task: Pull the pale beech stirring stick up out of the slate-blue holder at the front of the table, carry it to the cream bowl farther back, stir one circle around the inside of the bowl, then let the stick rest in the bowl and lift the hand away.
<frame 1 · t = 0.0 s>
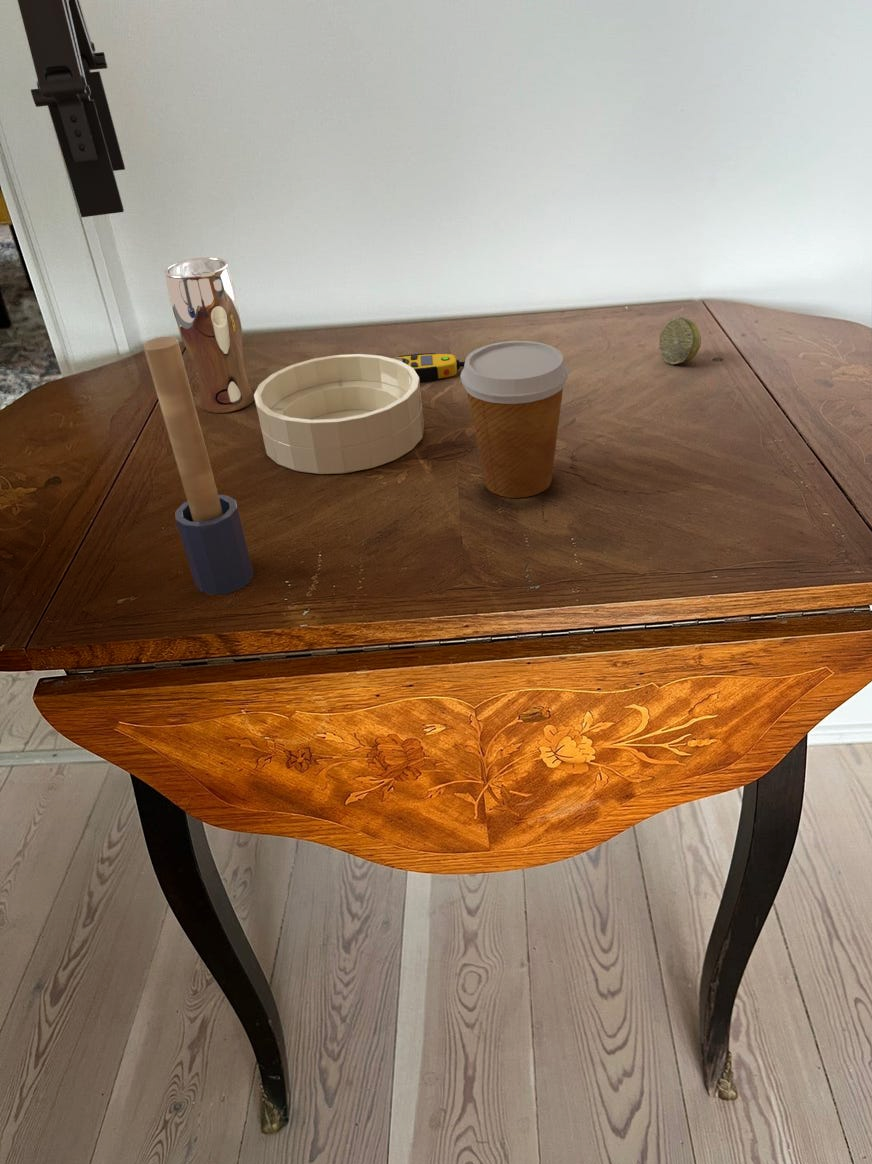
hand: (105, 191, 68), 29 cm above the table, tool pointing down, fingers open, 13 cm apart
disposable coffee cup: (518, 483, 90), on the table
holder: (225, 582, 79), on the table
stick: (224, 577, 79), resting on holder
beer glass: (228, 403, 108), on the table
lime: (678, 362, 110), on the table
yellow handheld meter: (444, 373, 111), on the table
bowl: (345, 440, 99), on the table
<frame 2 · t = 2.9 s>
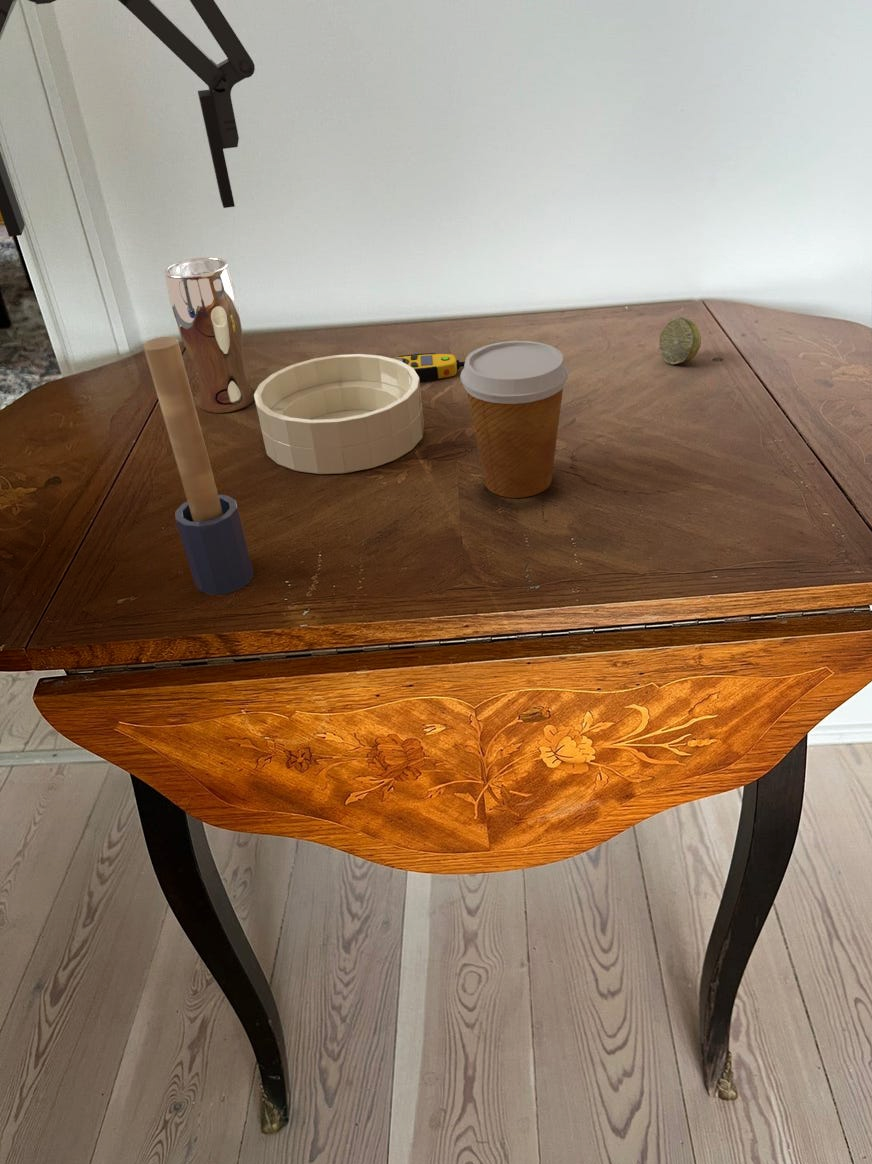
hand: (124, 217, 63), 28 cm above the table, tool pointing down, fingers open, 13 cm apart
nothing on the table moved.
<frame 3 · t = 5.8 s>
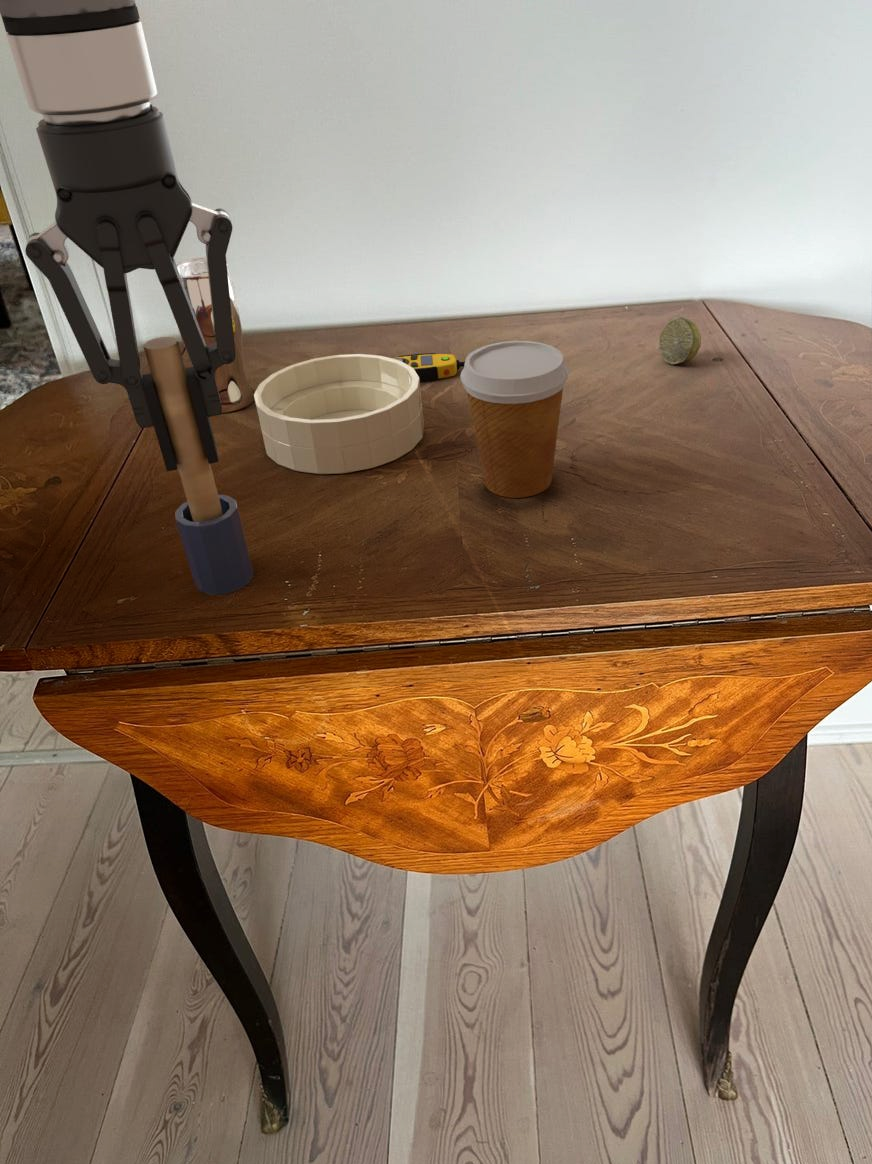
hand: (192, 458, 72), 12 cm above the table, tool pointing down, fingers closed on stick, 2 cm apart
stick: (224, 577, 79), point 1 cm above the table, touching gripper, holder
everything else where it was.
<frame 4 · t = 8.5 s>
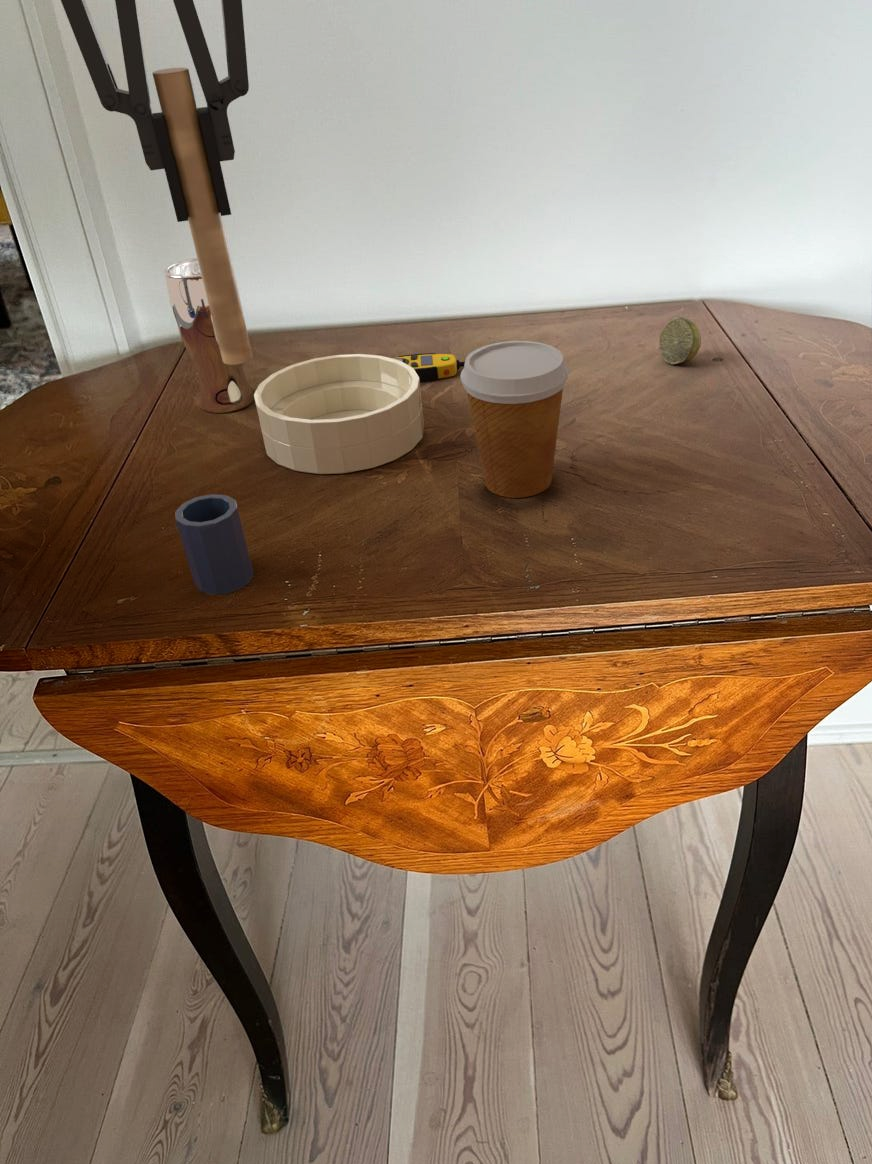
hand: (203, 213, 69), 27 cm above the table, tool pointing down, fingers closed on stick, 2 cm apart
stick: (237, 359, 76), point 16 cm above the table, touching gripper
everything else where it was.
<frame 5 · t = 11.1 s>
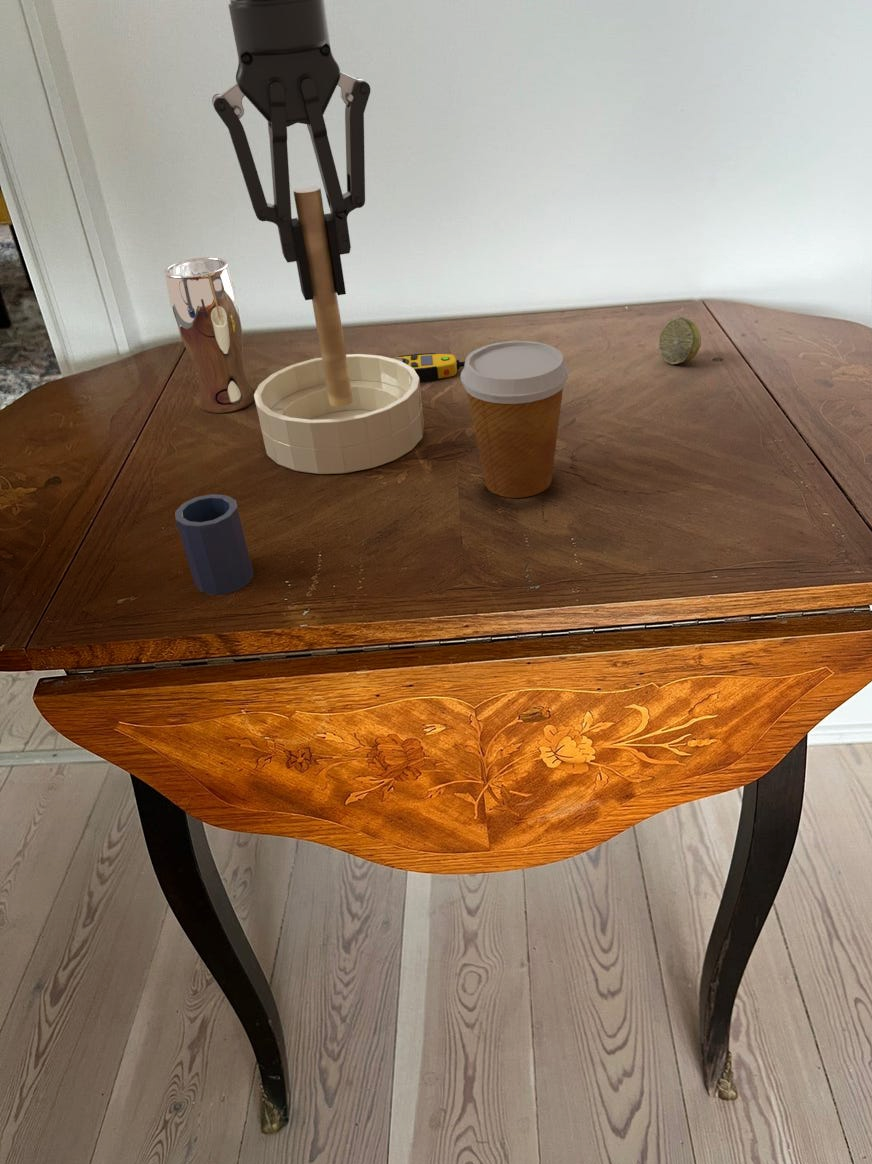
hand: (323, 292, 89), 15 cm above the table, tool pointing down, fingers closed on stick, 2 cm apart
stick: (341, 401, 96), point 4 cm above the table, touching gripper
everything else where it was.
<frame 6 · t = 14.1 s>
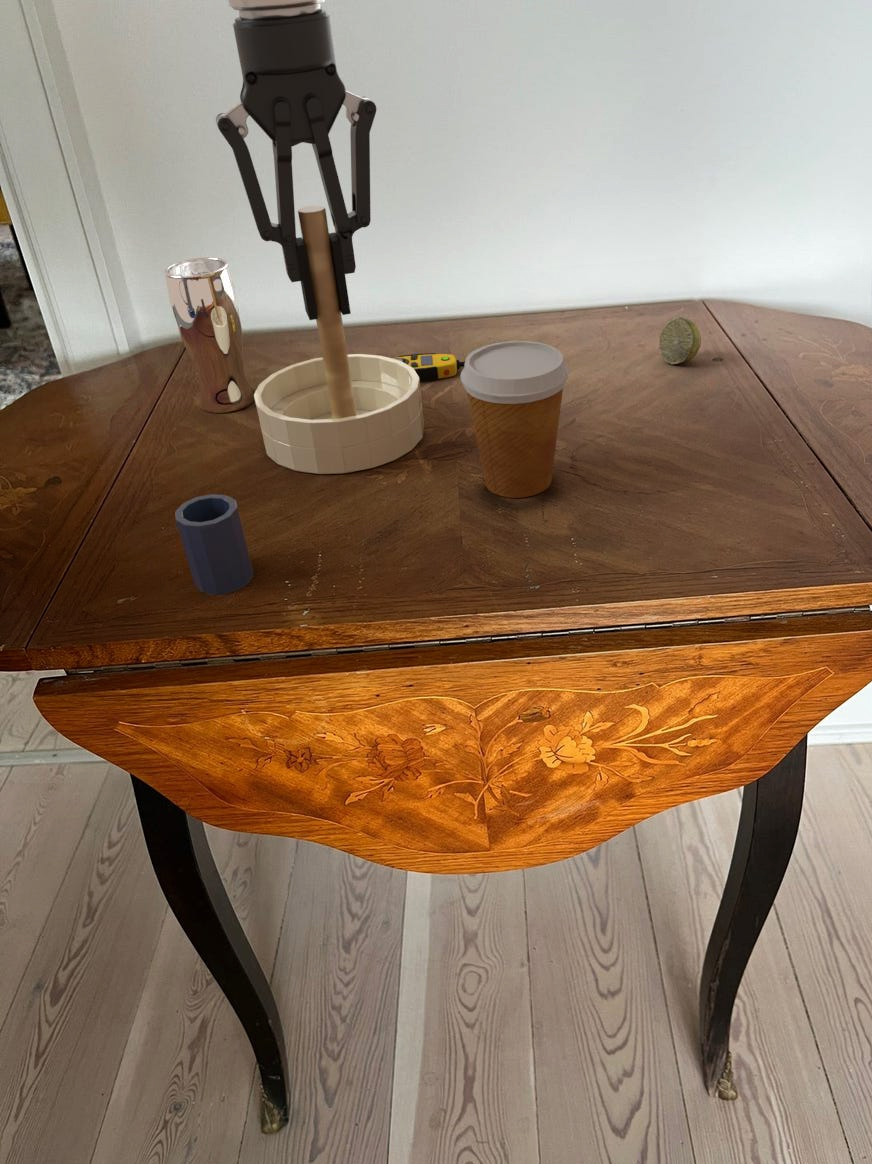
hand: (327, 311, 88), 14 cm above the table, tool pointing down, fingers closed on stick, 2 cm apart
stick: (345, 421, 95), point 3 cm above the table, touching gripper
everything else where it was.
when the fingers open (12 cm above the table, at t = 16.4 s): stick stays where it is, resting on bowl.
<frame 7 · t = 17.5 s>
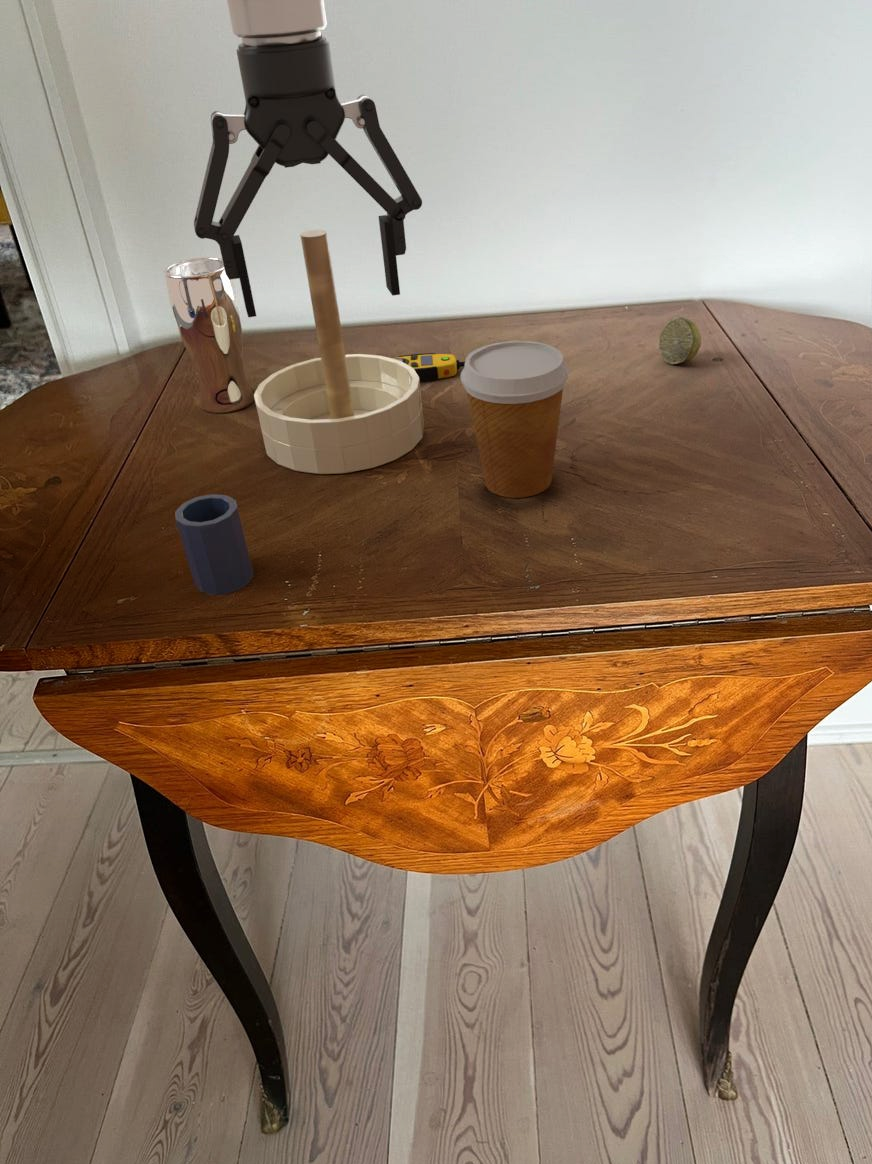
hand: (323, 301, 90), 14 cm above the table, tool pointing down, fingers open, 13 cm apart
stick: (345, 435, 98), point 1 cm above the table, touching bowl
everything else where it was.
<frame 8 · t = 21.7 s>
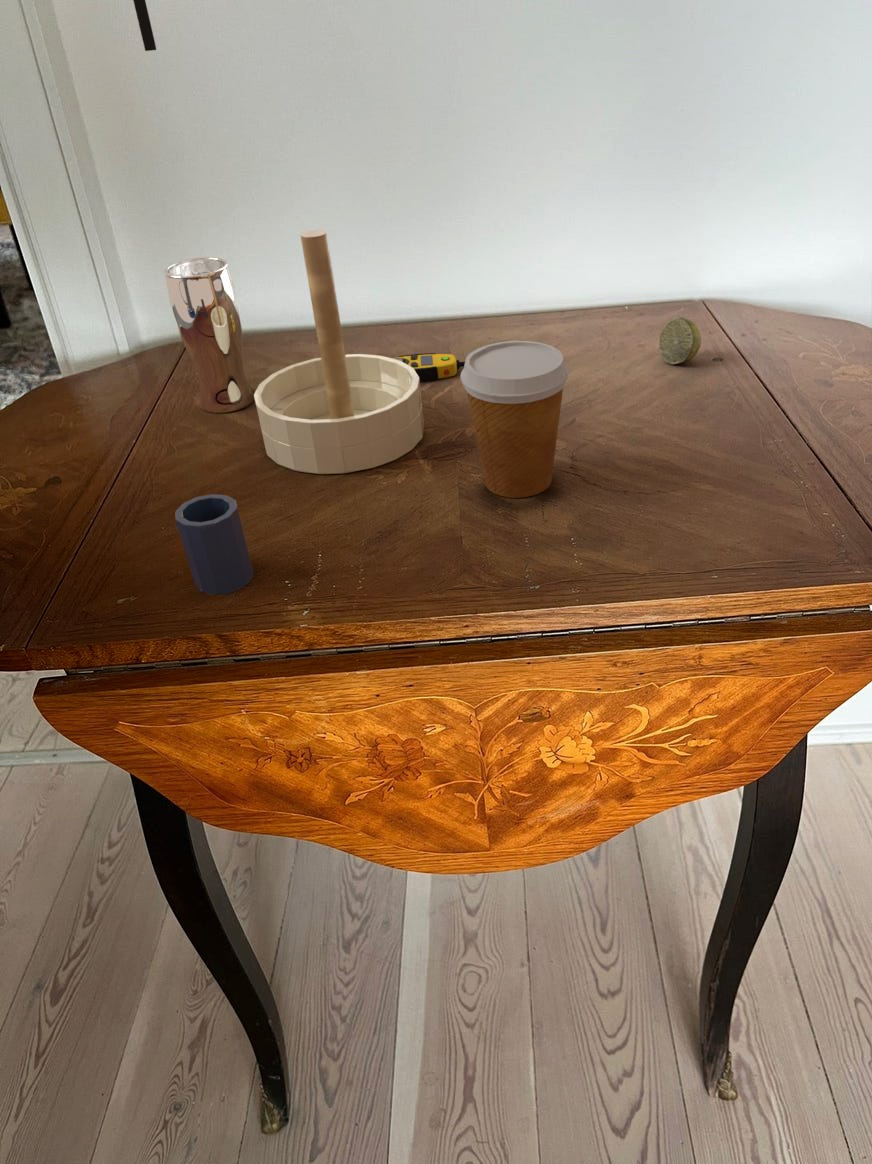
hand: (49, 59, 65), 37 cm above the table, tool pointing down, fingers open, 13 cm apart
nothing on the table moved.
at the end: stick inside the target area in the bowl (0.1 cm from its centre), point 0.6 cm above the bowl's base; stick moved 26.1 cm from its start; the gripper is holding nothing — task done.
